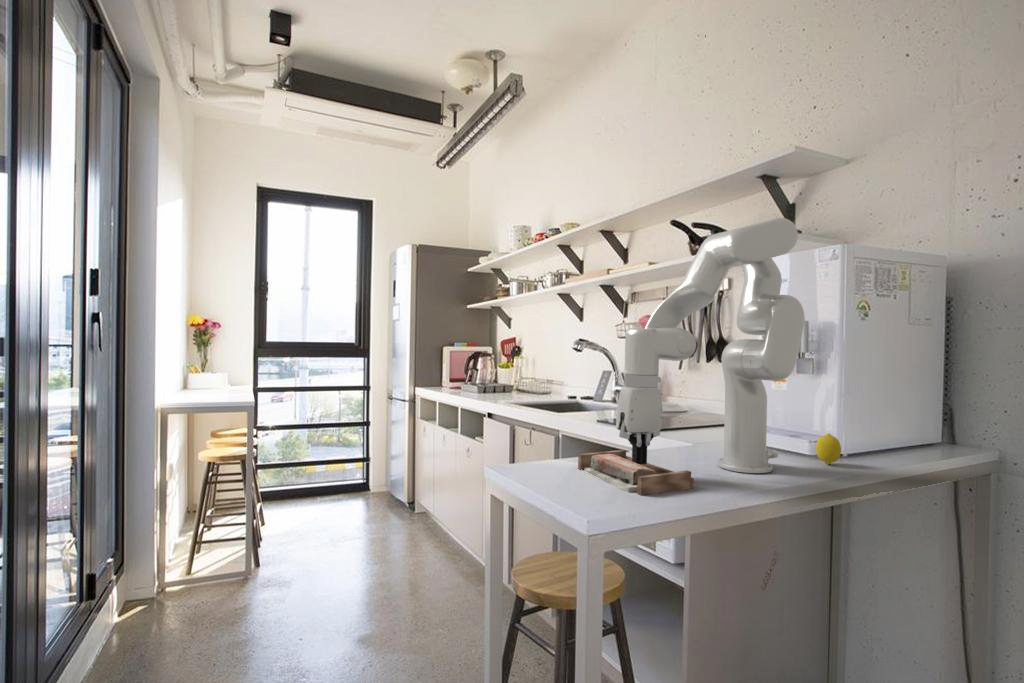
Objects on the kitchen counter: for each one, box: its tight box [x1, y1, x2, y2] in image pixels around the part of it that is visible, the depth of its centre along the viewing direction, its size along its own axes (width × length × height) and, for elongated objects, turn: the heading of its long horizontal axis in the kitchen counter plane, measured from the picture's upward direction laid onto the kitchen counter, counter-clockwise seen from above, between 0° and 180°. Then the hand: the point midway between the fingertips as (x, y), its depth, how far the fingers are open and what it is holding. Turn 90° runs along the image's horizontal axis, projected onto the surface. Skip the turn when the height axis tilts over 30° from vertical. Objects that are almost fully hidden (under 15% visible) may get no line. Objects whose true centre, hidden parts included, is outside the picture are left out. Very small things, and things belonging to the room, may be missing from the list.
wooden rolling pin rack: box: [577, 449, 695, 496], centre depth 120 cm, size 14×23×4 cm, turn 26°
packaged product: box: [583, 454, 656, 493], centre depth 119 cm, size 18×5×10 cm
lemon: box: [815, 433, 842, 465], centre depth 136 cm, size 6×6×8 cm
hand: (639, 462), depth 121 cm, fingers closed
